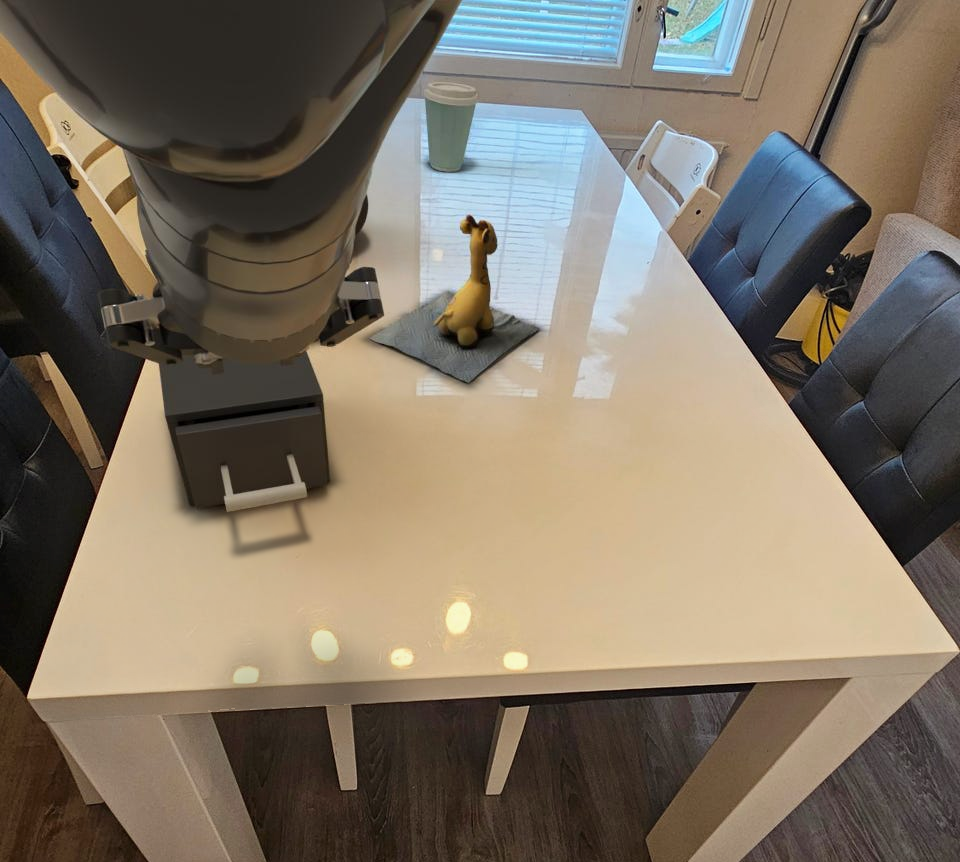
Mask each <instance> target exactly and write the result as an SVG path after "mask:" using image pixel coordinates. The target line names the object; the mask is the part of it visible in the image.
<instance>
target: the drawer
mask: <svg viewBox="0 0 960 862" xmlns="http://www.w3.org/2000/svg"><path fill="white" fill-rule="evenodd" d="M185 425H186V426H179V427H175V430H176V436H177V440H178V444H179V447H180V451H181V455H182V459H183V462H184V466H185V470H186V474H187V477H188V481H189V485H190V488H191V492H192V496H193V500H194V503H195V504H194V507H195V509H202V508H208V507H213V506H219V505H224V504H225V505H224V506H225V509H226V512H227V513H229V512H234V511H239V510H240V511H241V510H245V509H249V508H256V507H260V506H261V507H262V506H267V505H272V504H278V503H283V502H288V501H293V500H299V499H304V498H308V492H307V491H308V490H307V489H313V488H319V487H324V486H328V481H327V476H326V464H325V452H324V441H323V429H322V418H321V412H320V409H319V407H318V406H317V407H310V408H308V406H307V404H300V405H293V406H286V407H279V408H272V409H265V410H258V411H251V412H244V413H237V414H230V415H223V416H216V417H209V418H202V419H195V420H188V421H185Z"/></svg>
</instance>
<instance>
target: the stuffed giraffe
mask: <svg viewBox="0 0 960 862" xmlns="http://www.w3.org/2000/svg"><path fill="white" fill-rule="evenodd" d="M459 230H460V231H461V232H462V234H464V235H470V241H469V245H468V247H469V251H470V252H469V253H470V257H469V258H470V260H469V263H470V274H469V277H468V278H467V280H466V281H465V283H464V284H463V286H461V288H460V289H459V290H458V291H457V292H456V293H455V294H454V293H453V292H451V291H449V290H447V291H444V293H442V294H441V295H440V297H438V298H437V299H435V300H434V301H431V302H430V303H427V304H425V305H421V306H420V307H418V308H416V309H415V310H412V311H411V312H410V313H409V314H408V313H407V314H406V315H403V316H402V317H400V318H398V319H397V320H395V321H393V322H392V323H390V324H389V325H388V326H386V327H385V328H383V329H381V330H380V331H379V332H377V333H374V334H373V335H372V336H371V337H369V340H370V341H373V342H375V343H378V344H384V345H386V346H389V347H394V348H395V349H397V350H399V351H401V352H402V353H404V354H406V355H408V356H411V357H415V358H417V359H419V360H421V361H423V362H425V363H427V364H429V365H430V366H433V367H434V368H435V369H439V370H440V371H441V372H442V373H445V374H448V375H450V376H452V377H454V378H456V379H458V380H459V381H463V382H466V383H468V384H469V383H471V382H472V381H473V380H474V379H475V378H476V377H477V376H478V375H480V373H482V372H483V371H484V370H485V369H486V368H488V367H489V366H490V365H491V364H493V362H495V361H496V360H497V359H498V358H499V357H501V356H502V355H503V354H504V353H506V352H507V351H509V350H510V349H511V348H513V347H514V346H516V345H517V344H519V343H520V342H521V341H523V340H525V339H526V338H527V337H529V336H531V335H533V334H534V333H536V332H537V331H539V330H540V329H541V328H540V327H538V326H535V325H533V324H529V323H525V322H523V320H520V319H518V318H517V317H516V316H515V315H514V314H509V313H505V312H502V311H500V310H497V309H495V308H494V307H492V306H490V303H491V294H492V293H491V291H492V290H491V289H492V288H491V281H490V275H489V268H488V256H491V255H493V254H494V253H495V252H496V250H497V249H498V247H499V246H498V237H497V234H496V231H495V228H494V226H493V225H492V223H491V222H490V221H488V220H484V219H480V220H478V222H477V221H476V219H475V218H474V217H473V215H471V214H466V216H465V218H464V219H463V220H461V222H460V224H459Z"/></svg>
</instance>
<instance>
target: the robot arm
mask: <svg viewBox="0 0 960 862" xmlns="http://www.w3.org/2000/svg"><path fill="white" fill-rule="evenodd" d="M462 1H463V0H0V34H1V35H2V36H3V38H4V39H5V40H6V41H7V42H8V43H9V44H10V46H11V47H12V48H13V49H14V50H15V51H16V52H17V54H18V55H19V56H20V57H21V58H22V59H23V60H24V62H25V63H26V64H27V65H28V66H29V68H30V69H32V70H33V72H34V73H35V74H36V75H37V76H38V77H39V78H41V80H42V81H43V82H44V83H45V84H46V85H47V86H48V87H49V88H50V89H51V90H52V91H53V92H55V93H56V95H57V96H59V98H60V99H61V100H62V101H63V102H64V103H65V104H66V105H68V107H69V108H70V109H72V110H73V112H74V113H75V114H77V116H79V117H80V118H81V119H82V120H83V121H84V122H86V123H87V124H88V125H89V126H90V127H92V128H93V129H94V130H95V131H97V132H98V134H100V135H102V136H103V137H105V138H106V139H108V140H109V141H110V142H112V143H113V144H115V145H116V146H117V147H119V148H121V149H122V153H123V155H124V158H125V162H126V166H127V168H128V172H129V175H130V178H131V181H132V185H133V187H134V188H133V189H134V191H135V193H136V194H135V195H136V211H137V212H136V213H137V218H138V224H139V230H140V234H141V237H142V240H143V244H144V246H145V250H144V252H145V254H144V256H145V259H146V262H147V265H148V266H149V269H150V270H151V273H152V274H153V277H154V278H155V281H157V282H156V284H155V285H154V286H153V288H152V297H146V295H145V294H142V293H137V294H132V293H130V292H128V291H126V290H124V289H121V288H114V287H111V288H106V289H102V290H100V291H98V293H97V296H98V300H99V305H100V312H101V315H102V316H101V317H102V321H103V325H104V329H105V334H106V338H107V343H108V346H109V347H111V348H114V349H117V350H120V351H122V352H124V353H128V354H130V355H134V356H137V357H138V358H142V359H145V360H148V361H151V362H153V363H156V364H158V365H159V364H161V365H167V366H174V365H177V364H178V363H181V362H183V358H182V355H191V356H194V359H195V362H196V363H197V364H198V367H200V368H210V367H211V370H212V374H220V373H224V368H223V360H222V359H228V360H232V361H236V362H241V363H251V364H262V363H270V362H276V361H280V364H281V366H284V365H292V364H293V360H294V357H299V356H301V355H303V353H304V351H308V350H310V345H311V344H312V343H314V342H315V341H318V340H319V344H320V346H321V347H327V348H332V347H333V348H334V347H335V346H336V345H339V344H341V343H342V342H344V341H346V340H348V339H349V338H351V337H353V336H354V335H355V334H357V333H359V332H360V331H362V330H364V329H365V328H368V326H370V325H372V324H373V323H375V322H377V321H378V320H381V319H382V318H383V317H385V311H384V307H383V301H382V297H381V296H382V295H381V292H380V286H379V282H378V281H379V280H378V276H377V271H376V268H374V267H372V266H360V267H359V268H357V269H354V270H352V272H351V273H349V274H348V275H347V271H348V270H349V268H350V265H351V264H352V261H353V254H354V245H355V238H356V237H355V225H356V222H357V220H358V217H359V214H360V211H361V208H362V205H363V202H364V199H365V197H366V193H367V194H368V189H369V186H370V182H371V178H372V173H373V168H374V165H375V161H376V159H377V157H378V154H379V152H380V149H381V148H382V146H383V143H384V141H385V139H386V136H387V134H388V132H389V130H390V128H391V126H392V124H393V122H394V121H395V119H396V117H397V115H398V114H399V112H400V111H401V109H402V108H403V105H404V104H405V103H406V101H407V99H408V98H409V96H410V94H411V93H412V91H413V90H414V87H415V85H416V84H417V83H418V80H419V79H420V77H421V75H422V73H423V71H424V70H425V68H426V67H427V65H428V62H429V61H430V59H431V58H432V56H433V54H434V52H435V50H436V49H437V46H438V45H439V43H440V41H441V40H442V38H443V36H444V34H445V32H446V31H447V30H448V27H449V26H450V23H451V22H452V21H453V18H454V16H455V15H456V12H457V10H458V9H459V7H460V5H461V3H462ZM314 340H315V341H314Z"/></svg>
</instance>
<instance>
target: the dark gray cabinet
mask: <svg viewBox="0 0 960 862" xmlns="http://www.w3.org/2000/svg"><path fill="white" fill-rule="evenodd" d="M307 351H308V350H306V351H304V353H303V355H301V356H299V357H294V360H293V364H292V365H284V366H281V364H280V361H276V362H270V363H262V364H251V363H241V362H236V361H232V360H228V359H222V360H223V368H224V373H220V374H212V370H211V367H210V368H200V367H198V364H197V363H196V362H195V359H194V356H191V355H182V358H183V362H181V363H178V364H177V365H174V366H167V365H161V364H158V370H159V378H160V386H161V395H162V403H163V411H164V417H165V421H166V425H167V428H168V432H169V436H170V441H171V443H172V446H173V450H174V454H175V457H176V461H177V465H178V469H179V472H180V477H181V479H182V482H183V483H182V484H183V487H184V490H185V493H186V497H187V501H188V505H189V506H195V503H194V500H193V496H192V492H191V488H190V485H189V481H188V477H187V474H186V470H185V466H184V462H183V459H182V455H181V451H180V447H179V444H178V440H177V436H176V430H175V427H179V426H186V425H185V421H188V420H195V419H202V418H209V417H216V416H223V415H230V414H237V413H244V412H251V411H258V410H265V409H272V408H279V407H286V406H293V405H300V404H307V406H308V408H310V407H317V406H318V407H319V409H320V412H321V418H322V429H323V441H324V452H325V464H326V476H327V482H328V481H330V480H331V476H330V475H331V474H330V464H329V463H330V461H329V450H328V439H327V427H326V415H325V403H324V393H323V390H322V388H321V385H320V383H319V380H318V378H317V377H318V376H317V375H316V373H315V370H314V367H313V364H312V362H311V359H310V356H309V354H308V352H307Z"/></svg>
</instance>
